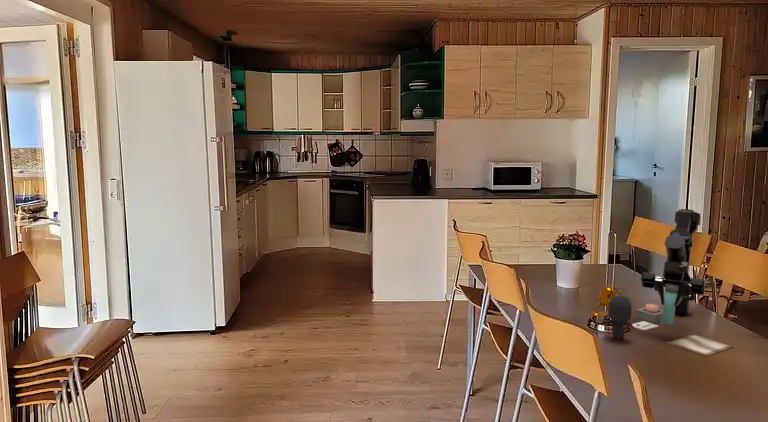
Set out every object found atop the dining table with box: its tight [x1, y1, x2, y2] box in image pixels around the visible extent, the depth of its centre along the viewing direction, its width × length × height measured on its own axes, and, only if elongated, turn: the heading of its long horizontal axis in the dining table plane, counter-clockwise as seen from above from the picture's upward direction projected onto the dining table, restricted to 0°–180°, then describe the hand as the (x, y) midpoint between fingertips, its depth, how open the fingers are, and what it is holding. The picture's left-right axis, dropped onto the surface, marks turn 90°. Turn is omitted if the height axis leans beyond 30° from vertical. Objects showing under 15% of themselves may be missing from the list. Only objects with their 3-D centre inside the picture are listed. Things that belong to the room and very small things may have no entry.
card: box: [631, 320, 659, 332], centre depth 203 cm, size 8×6×1 cm
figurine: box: [589, 285, 623, 317], centre depth 212 cm, size 8×11×12 cm
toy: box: [603, 294, 635, 341], centre depth 189 cm, size 9×8×15 cm
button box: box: [634, 306, 663, 324], centre depth 211 cm, size 8×8×3 cm
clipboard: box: [666, 333, 734, 358], centre depth 184 cm, size 15×13×1 cm
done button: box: [645, 303, 660, 313], centre depth 211 cm, size 4×4×4 cm
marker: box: [661, 283, 679, 326], centre depth 187 cm, size 4×4×13 cm
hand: (669, 305), depth 186 cm, fingers closed on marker, 4 cm apart
